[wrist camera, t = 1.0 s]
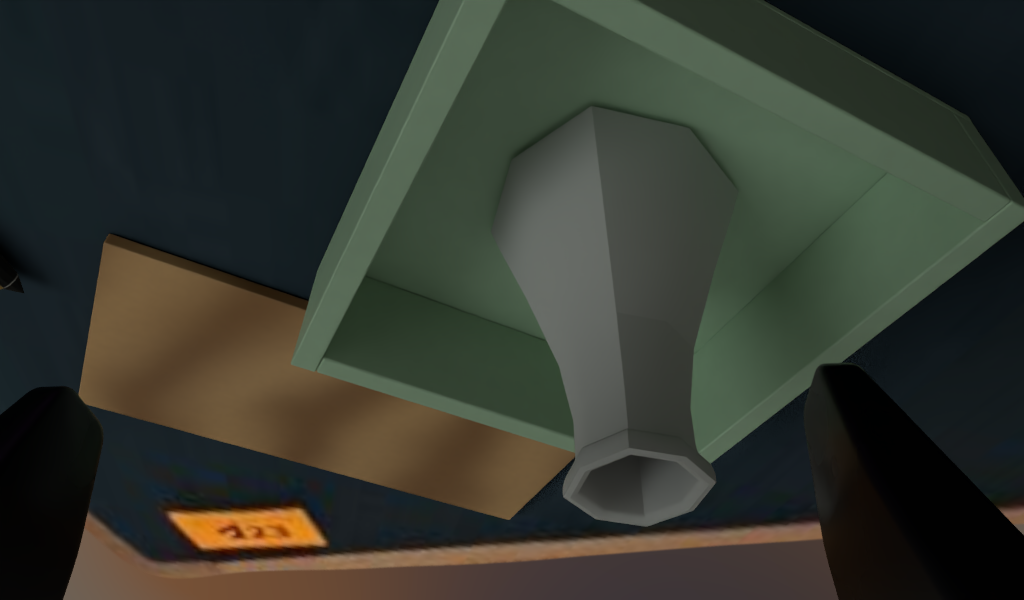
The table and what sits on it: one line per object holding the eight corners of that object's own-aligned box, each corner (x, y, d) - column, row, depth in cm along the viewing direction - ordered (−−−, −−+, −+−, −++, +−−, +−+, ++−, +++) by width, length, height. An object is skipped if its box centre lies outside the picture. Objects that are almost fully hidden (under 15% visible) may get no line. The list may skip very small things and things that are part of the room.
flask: (630, 316, 28) (660, 589, 21) (452, 232, 25) (419, 512, 18) (780, 178, 23) (883, 467, 16) (583, 58, 21) (605, 342, 14)
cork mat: (617, 405, 32) (618, 415, 32) (509, 511, 39) (509, 520, 38) (109, 232, 26) (103, 242, 26) (81, 392, 32) (76, 402, 32)
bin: (968, 116, 22) (1036, 213, 19) (667, 393, 31) (680, 487, 28) (505, -147, 17) (498, -74, 14) (318, 269, 27) (289, 365, 24)
